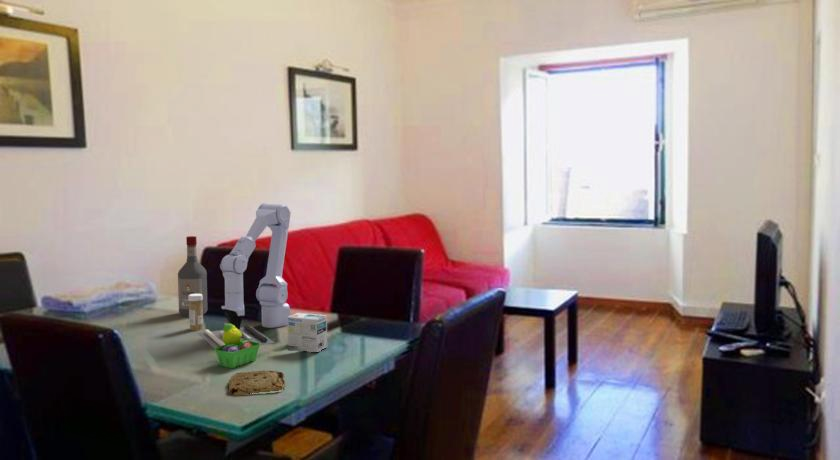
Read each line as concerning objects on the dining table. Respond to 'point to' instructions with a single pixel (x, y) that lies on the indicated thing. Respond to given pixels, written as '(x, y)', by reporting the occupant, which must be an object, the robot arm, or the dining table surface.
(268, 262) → the robot arm
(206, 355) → the dining table surface
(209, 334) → the white rounded rod
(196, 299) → the sprinkles bottle
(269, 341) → the panel
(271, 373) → the pastry
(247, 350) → the fruit basket
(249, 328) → the dark grey rounded rod
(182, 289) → the liquor
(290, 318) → the light bulb box
